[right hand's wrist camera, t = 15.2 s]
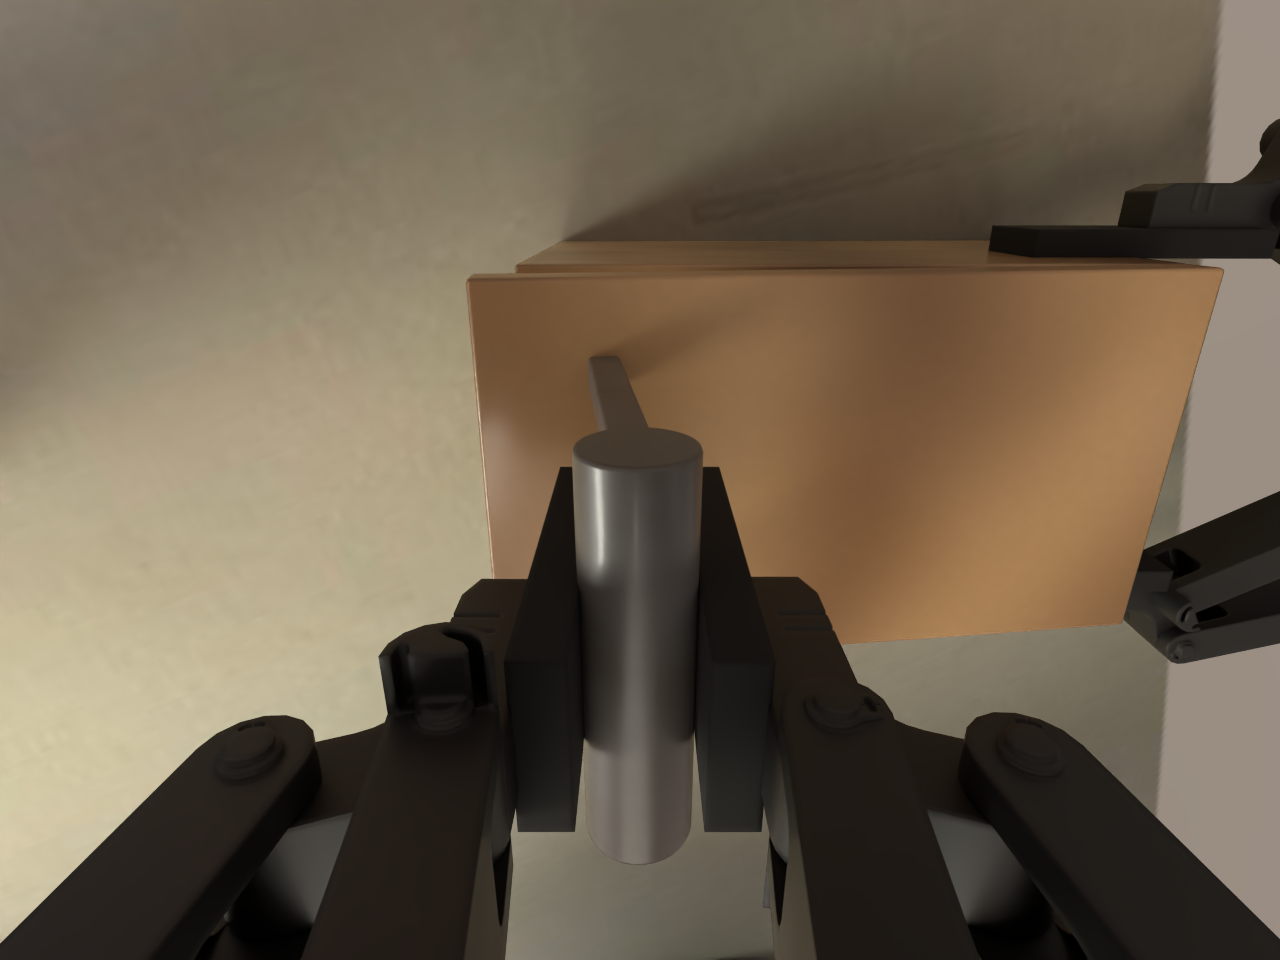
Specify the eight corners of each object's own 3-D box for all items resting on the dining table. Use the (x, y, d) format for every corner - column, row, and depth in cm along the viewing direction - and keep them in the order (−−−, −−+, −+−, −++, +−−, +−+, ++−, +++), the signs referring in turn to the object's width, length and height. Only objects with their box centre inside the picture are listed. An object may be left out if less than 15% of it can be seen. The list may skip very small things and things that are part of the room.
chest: (570, 478, 31) (536, 601, 21) (559, 241, 27) (514, 264, 18) (959, 479, 31) (1096, 603, 21) (1001, 240, 27) (1189, 264, 18)
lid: (502, 645, 19) (470, 953, 11) (470, 273, 16) (390, 350, 8) (1095, 604, 21) (1417, 845, 13) (1188, 263, 18) (1703, 318, 10)
